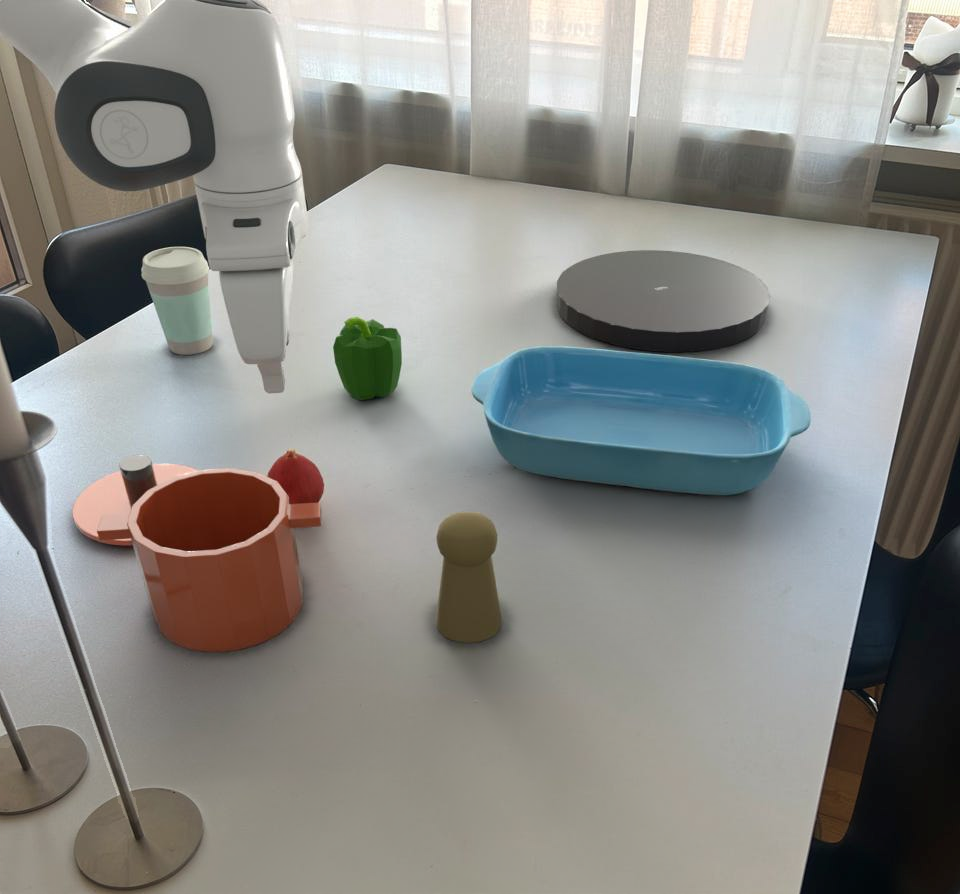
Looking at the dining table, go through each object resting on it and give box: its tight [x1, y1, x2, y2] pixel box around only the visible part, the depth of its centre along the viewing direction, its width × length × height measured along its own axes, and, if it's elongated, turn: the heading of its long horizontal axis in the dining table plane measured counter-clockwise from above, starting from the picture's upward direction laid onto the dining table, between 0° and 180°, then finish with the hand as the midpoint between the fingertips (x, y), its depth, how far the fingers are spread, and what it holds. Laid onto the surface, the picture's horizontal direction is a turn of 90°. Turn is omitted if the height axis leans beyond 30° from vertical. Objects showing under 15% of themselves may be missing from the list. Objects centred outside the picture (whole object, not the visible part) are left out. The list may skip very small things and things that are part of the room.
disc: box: [555, 249, 771, 353], centre depth 143 cm, size 30×30×3 cm
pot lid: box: [71, 454, 200, 546], centre depth 104 cm, size 15×15×6 cm
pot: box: [97, 467, 322, 653], centre depth 90 cm, size 14×19×10 cm
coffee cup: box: [140, 246, 214, 356], centre depth 131 cm, size 8×8×12 cm
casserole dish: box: [471, 345, 812, 496], centre depth 112 cm, size 37×22×7 cm, turn 79°
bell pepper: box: [332, 316, 403, 401], centre depth 122 cm, size 8×8×10 cm
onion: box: [266, 448, 325, 504], centre depth 102 cm, size 6×6×8 cm
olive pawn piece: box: [435, 510, 503, 644], centre depth 88 cm, size 6×6×11 cm
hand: (278, 366), depth 93 cm, fingers open, 8 cm apart
